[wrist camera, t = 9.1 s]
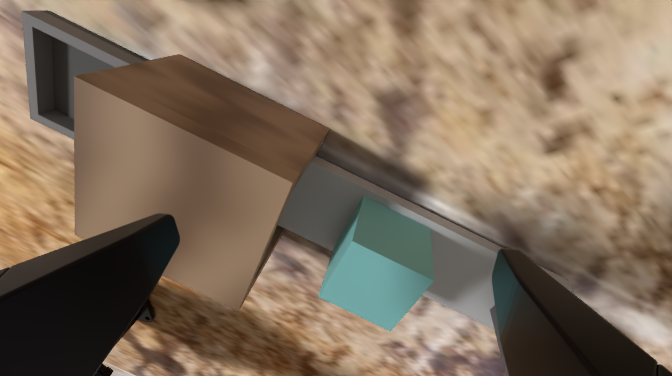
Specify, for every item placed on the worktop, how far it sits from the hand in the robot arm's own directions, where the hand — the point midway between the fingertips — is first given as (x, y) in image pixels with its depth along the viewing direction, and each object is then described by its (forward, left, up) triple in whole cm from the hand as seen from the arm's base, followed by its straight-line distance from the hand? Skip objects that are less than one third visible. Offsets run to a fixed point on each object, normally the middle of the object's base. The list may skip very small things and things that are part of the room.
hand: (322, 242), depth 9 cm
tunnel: (-3, +9, -12) cm, 15 cm away
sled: (-8, -3, -12) cm, 15 cm away
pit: (+1, +18, -12) cm, 22 cm away
